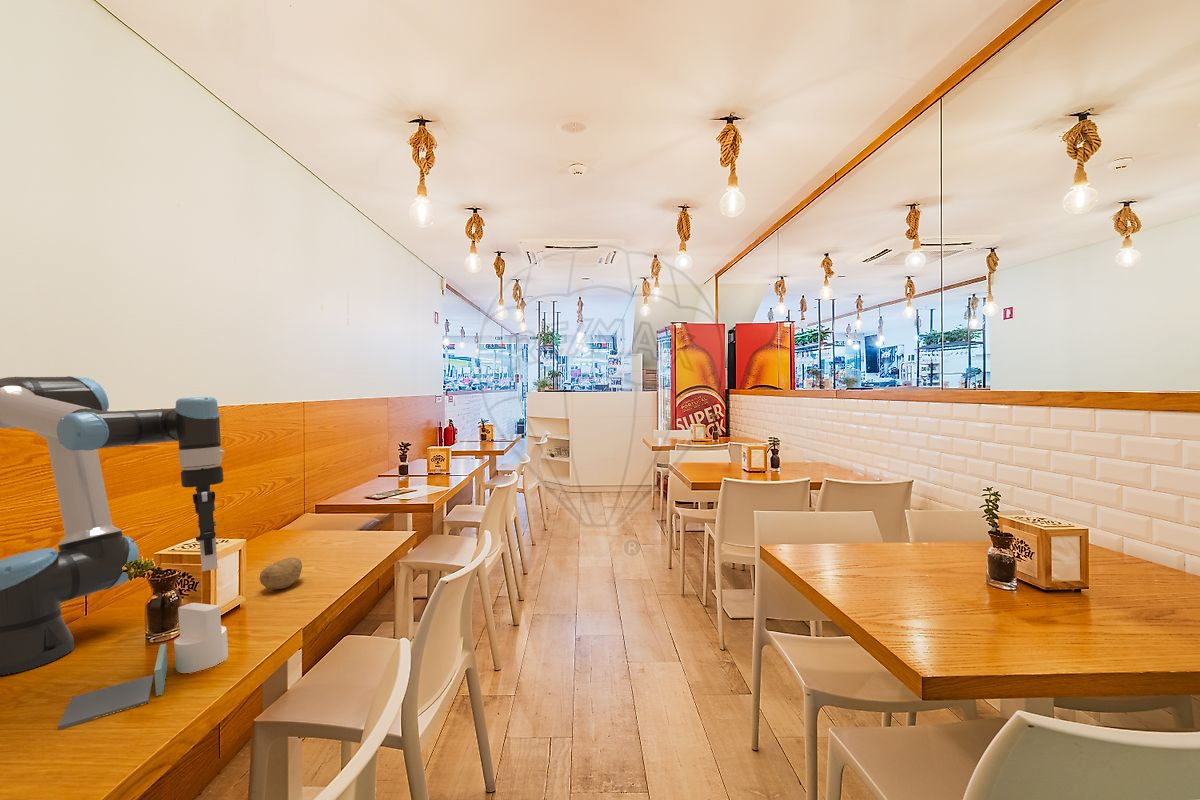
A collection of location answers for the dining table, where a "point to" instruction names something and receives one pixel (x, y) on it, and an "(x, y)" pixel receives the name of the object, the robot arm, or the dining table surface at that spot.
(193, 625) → the cylinder with rectangular tab
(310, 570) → the dining table surface
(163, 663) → the panel
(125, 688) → the coaster
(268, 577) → the potato
